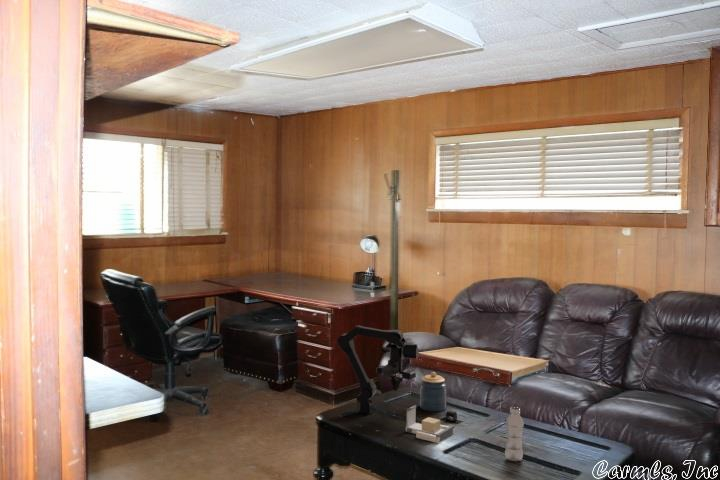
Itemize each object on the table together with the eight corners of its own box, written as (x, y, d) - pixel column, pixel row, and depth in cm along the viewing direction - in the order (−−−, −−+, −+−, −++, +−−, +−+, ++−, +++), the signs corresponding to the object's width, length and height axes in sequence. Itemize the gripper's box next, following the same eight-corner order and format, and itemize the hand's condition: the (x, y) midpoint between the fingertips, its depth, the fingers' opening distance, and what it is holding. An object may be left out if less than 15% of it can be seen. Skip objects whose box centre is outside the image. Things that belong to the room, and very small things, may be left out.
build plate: (467, 422, 273) (467, 412, 273) (459, 426, 268) (459, 416, 268) (443, 416, 281) (443, 407, 281) (435, 420, 276) (435, 411, 275)
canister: (415, 404, 298) (416, 369, 297) (440, 402, 301) (440, 368, 300) (424, 412, 285) (425, 376, 285) (450, 411, 288) (450, 374, 288)
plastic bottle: (502, 456, 233) (503, 406, 232) (519, 456, 233) (520, 405, 233) (508, 463, 226) (509, 411, 226) (525, 463, 227) (526, 411, 226)
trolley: (404, 432, 259) (405, 409, 259) (414, 426, 266) (415, 404, 266) (437, 440, 250) (437, 416, 250) (447, 434, 257) (447, 411, 257)
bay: (416, 437, 252) (416, 430, 252) (432, 428, 264) (432, 420, 264) (438, 443, 246) (438, 435, 246) (454, 433, 258) (454, 425, 258)
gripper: (369, 357, 278) (369, 391, 278) (403, 363, 267) (403, 398, 267) (382, 353, 287) (382, 385, 287) (416, 359, 276) (416, 392, 276)
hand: (395, 390), depth 279 cm, fingers closed
